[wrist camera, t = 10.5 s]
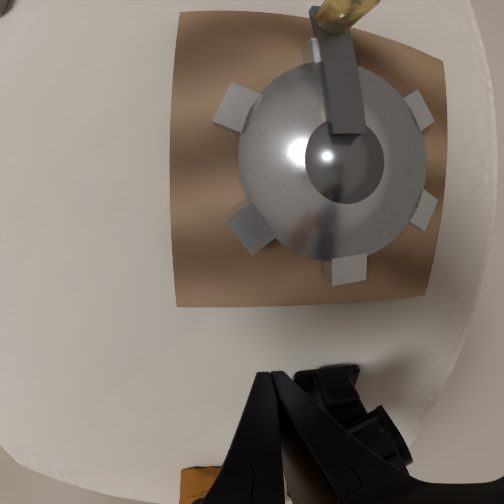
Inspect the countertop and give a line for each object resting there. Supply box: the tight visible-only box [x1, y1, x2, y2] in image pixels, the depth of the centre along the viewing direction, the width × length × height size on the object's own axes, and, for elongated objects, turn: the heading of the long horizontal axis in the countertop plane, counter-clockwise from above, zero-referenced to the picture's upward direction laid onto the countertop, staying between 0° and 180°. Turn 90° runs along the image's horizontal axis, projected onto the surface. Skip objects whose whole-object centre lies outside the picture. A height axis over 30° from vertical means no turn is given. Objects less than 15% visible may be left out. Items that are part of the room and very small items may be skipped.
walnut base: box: [170, 11, 447, 307], centre depth 17 cm, size 20×20×2 cm
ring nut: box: [213, 0, 438, 286], centre depth 13 cm, size 14×17×7 cm
